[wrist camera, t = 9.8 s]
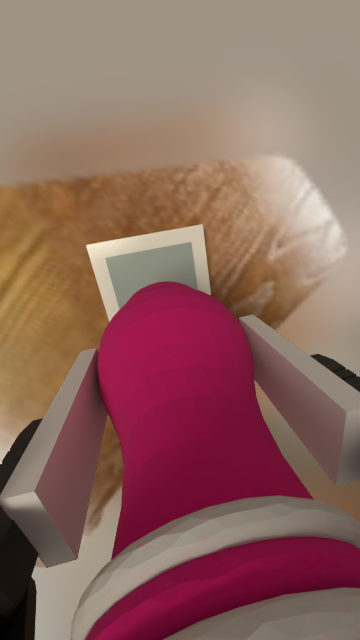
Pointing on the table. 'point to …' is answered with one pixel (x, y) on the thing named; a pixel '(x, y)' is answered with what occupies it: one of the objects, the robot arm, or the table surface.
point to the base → (149, 264)
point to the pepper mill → (208, 493)
